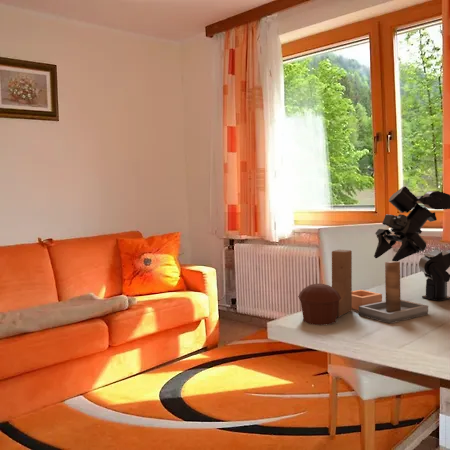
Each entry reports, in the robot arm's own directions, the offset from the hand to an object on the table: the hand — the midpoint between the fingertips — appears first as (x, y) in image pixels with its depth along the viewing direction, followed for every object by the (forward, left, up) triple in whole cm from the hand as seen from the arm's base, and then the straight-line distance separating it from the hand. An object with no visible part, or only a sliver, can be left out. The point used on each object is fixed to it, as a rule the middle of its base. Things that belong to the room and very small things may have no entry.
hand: (383, 259), depth 159 cm
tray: (+10, +12, -14) cm, 20 cm away
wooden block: (+21, +1, -14) cm, 25 cm away
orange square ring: (+10, 0, -14) cm, 17 cm away
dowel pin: (+10, +12, -13) cm, 20 cm away
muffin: (+31, +4, -14) cm, 34 cm away
